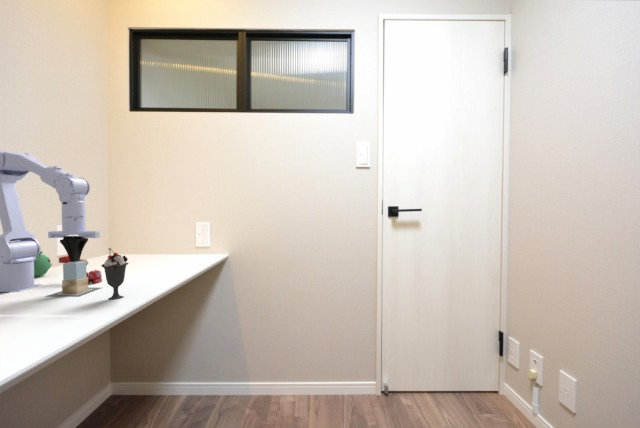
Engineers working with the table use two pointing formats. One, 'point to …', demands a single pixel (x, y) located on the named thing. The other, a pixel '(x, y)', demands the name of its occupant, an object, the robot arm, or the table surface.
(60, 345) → the table surface
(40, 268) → the alien toy
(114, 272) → the sundae
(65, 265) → the bluegrey block
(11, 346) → the table surface
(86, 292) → the grey square pad
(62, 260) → the toy fire truck
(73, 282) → the beech block
